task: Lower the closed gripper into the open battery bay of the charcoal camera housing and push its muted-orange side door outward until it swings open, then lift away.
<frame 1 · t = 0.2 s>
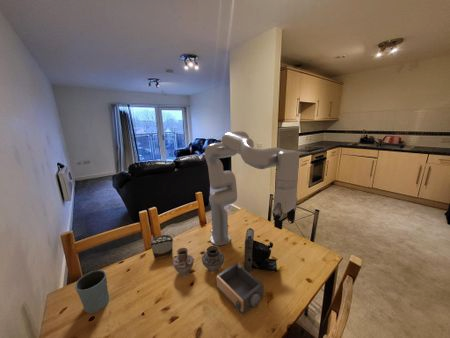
hand: (284, 223, 77), 31 cm above the table, fingers open, 9 cm apart
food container: (163, 253, 107), on the table
vintage camera: (260, 269, 94), on the table
pottery: (199, 270, 95), on the table
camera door: (228, 293, 77), point 4 cm above the table, hinge at 0.0°
camera housing: (239, 292, 82), on the table
grey green cup: (96, 303, 78), on the table
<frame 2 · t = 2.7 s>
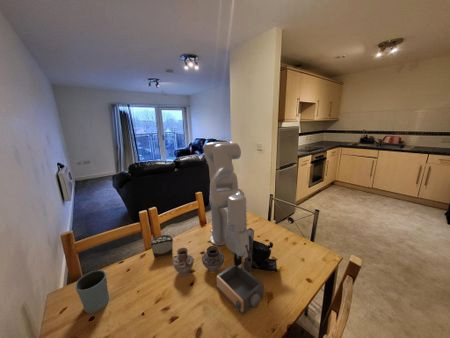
hand: (238, 264, 82), 12 cm above the table, fingers closed
nothing on the table moved.
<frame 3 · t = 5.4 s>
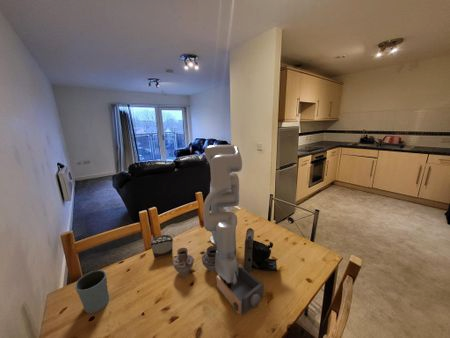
hand: (227, 287, 81), 3 cm above the table, fingers closed
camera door: (226, 294, 77), point 4 cm above the table, hinge at 4.8°, touching gripper
everything else where it was.
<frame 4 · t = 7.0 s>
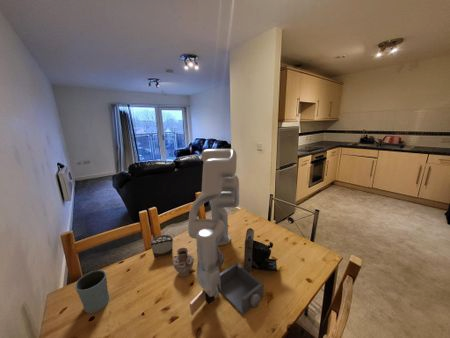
hand: (210, 300, 75), 3 cm above the table, fingers closed
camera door: (204, 293, 77), point 4 cm above the table, hinge at 73.9°, touching gripper
everything else where it was.
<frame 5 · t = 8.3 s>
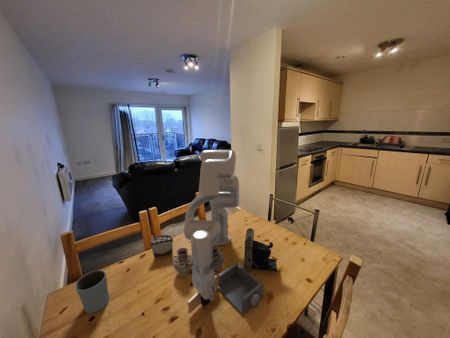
hand: (205, 303, 74), 3 cm above the table, fingers closed
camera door: (202, 292, 78), point 4 cm above the table, hinge at 78.2°, touching gripper
everything else where it was.
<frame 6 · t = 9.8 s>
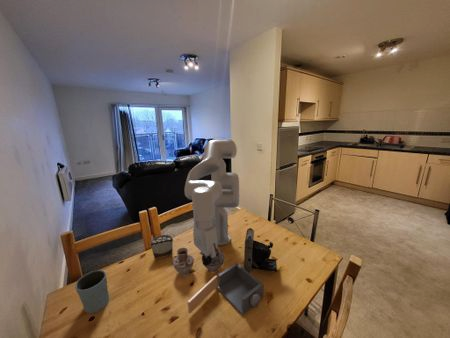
hand: (207, 263, 73), 18 cm above the table, fingers closed
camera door: (202, 292, 78), point 4 cm above the table, hinge at 78.2°
everything else where it was.
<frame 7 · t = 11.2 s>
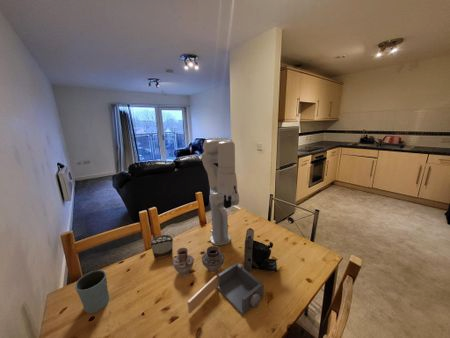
hand: (227, 207, 89), 32 cm above the table, fingers closed
nothing on the table moved.
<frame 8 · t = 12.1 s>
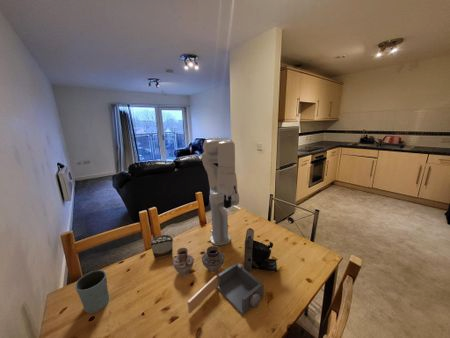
hand: (227, 207, 89), 32 cm above the table, fingers closed
nothing on the table moved.
at the end: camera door at +78° (first picture: +0°); pottery moved 0.3 cm from its start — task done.
